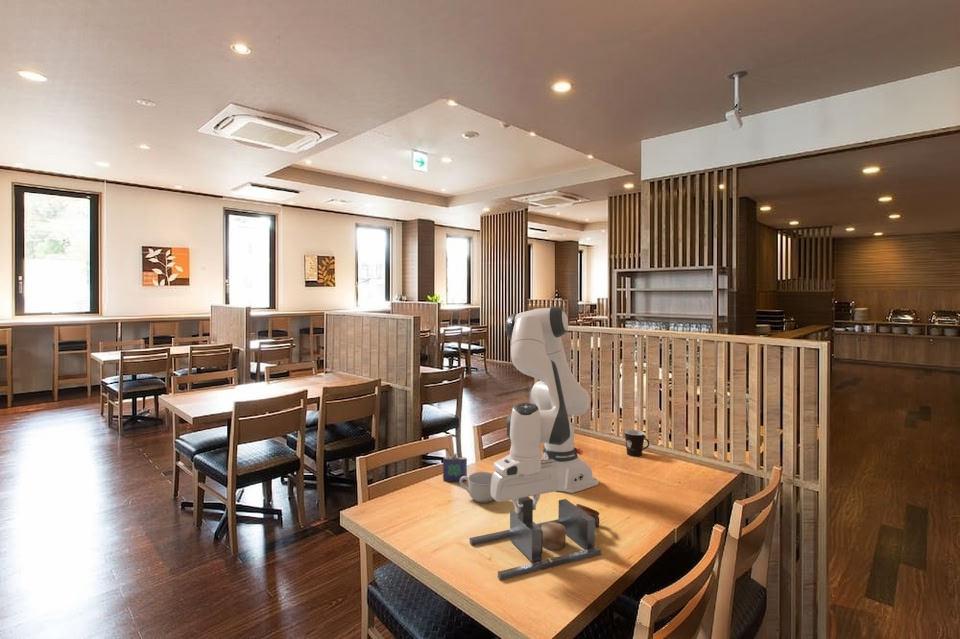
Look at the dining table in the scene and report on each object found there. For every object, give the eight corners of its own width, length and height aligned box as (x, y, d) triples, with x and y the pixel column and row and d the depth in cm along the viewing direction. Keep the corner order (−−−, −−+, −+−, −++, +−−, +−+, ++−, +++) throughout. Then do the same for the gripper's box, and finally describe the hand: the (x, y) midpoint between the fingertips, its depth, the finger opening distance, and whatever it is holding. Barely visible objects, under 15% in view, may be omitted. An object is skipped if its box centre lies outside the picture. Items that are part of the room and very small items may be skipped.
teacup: (503, 496, 178) (503, 474, 178) (490, 508, 168) (491, 485, 168) (468, 489, 184) (468, 468, 183) (454, 500, 174) (454, 478, 174)
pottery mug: (560, 526, 156) (569, 500, 159) (586, 537, 158) (594, 511, 160) (578, 534, 145) (587, 505, 147) (606, 545, 147) (614, 517, 149)
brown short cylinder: (557, 536, 149) (557, 520, 148) (570, 547, 142) (570, 530, 142) (536, 541, 146) (536, 524, 145) (549, 552, 139) (549, 535, 139)
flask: (467, 479, 194) (467, 452, 193) (466, 482, 191) (466, 455, 190) (443, 479, 194) (443, 452, 194) (442, 482, 191) (442, 454, 191)
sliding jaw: (520, 537, 147) (521, 489, 146) (543, 558, 135) (543, 506, 134) (509, 539, 146) (510, 491, 145) (531, 561, 134) (532, 509, 133)
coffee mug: (621, 451, 228) (621, 430, 227) (639, 450, 229) (639, 429, 228) (631, 460, 216) (632, 437, 216) (650, 459, 217) (651, 436, 217)
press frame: (560, 523, 157) (560, 495, 157) (601, 555, 138) (601, 523, 137) (469, 542, 145) (469, 512, 144) (500, 581, 126) (500, 546, 125)
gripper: (551, 454, 146) (551, 500, 147) (488, 463, 138) (488, 512, 139) (563, 461, 140) (562, 508, 141) (497, 471, 132) (497, 522, 133)
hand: (525, 510), depth 140 cm, fingers closed on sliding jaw, 3 cm apart
